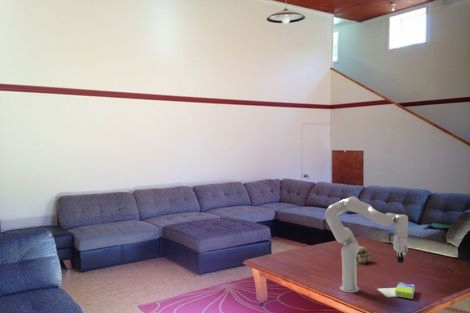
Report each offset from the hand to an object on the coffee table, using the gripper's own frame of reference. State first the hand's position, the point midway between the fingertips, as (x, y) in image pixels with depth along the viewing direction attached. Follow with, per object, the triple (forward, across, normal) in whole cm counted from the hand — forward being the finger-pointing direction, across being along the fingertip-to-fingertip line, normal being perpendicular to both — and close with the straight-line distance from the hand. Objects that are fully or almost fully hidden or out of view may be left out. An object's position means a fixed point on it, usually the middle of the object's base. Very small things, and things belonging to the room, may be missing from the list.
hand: (400, 262), depth 253 cm
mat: (+24, -9, +1) cm, 25 cm away
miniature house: (+25, -79, +6) cm, 83 cm away
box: (+21, +1, +2) cm, 21 cm away
